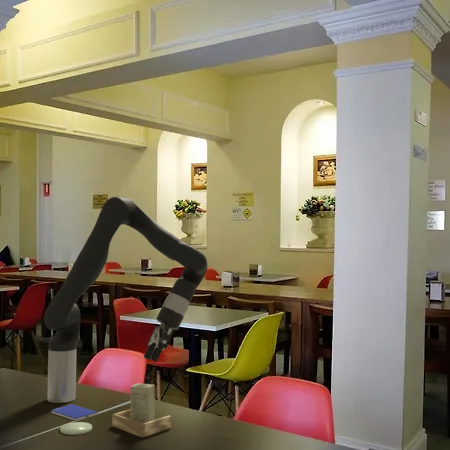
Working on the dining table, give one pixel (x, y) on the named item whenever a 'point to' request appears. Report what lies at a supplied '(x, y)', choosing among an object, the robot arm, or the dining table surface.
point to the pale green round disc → (76, 428)
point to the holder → (139, 424)
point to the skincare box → (142, 402)
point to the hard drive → (74, 412)
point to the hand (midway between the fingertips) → (149, 359)
